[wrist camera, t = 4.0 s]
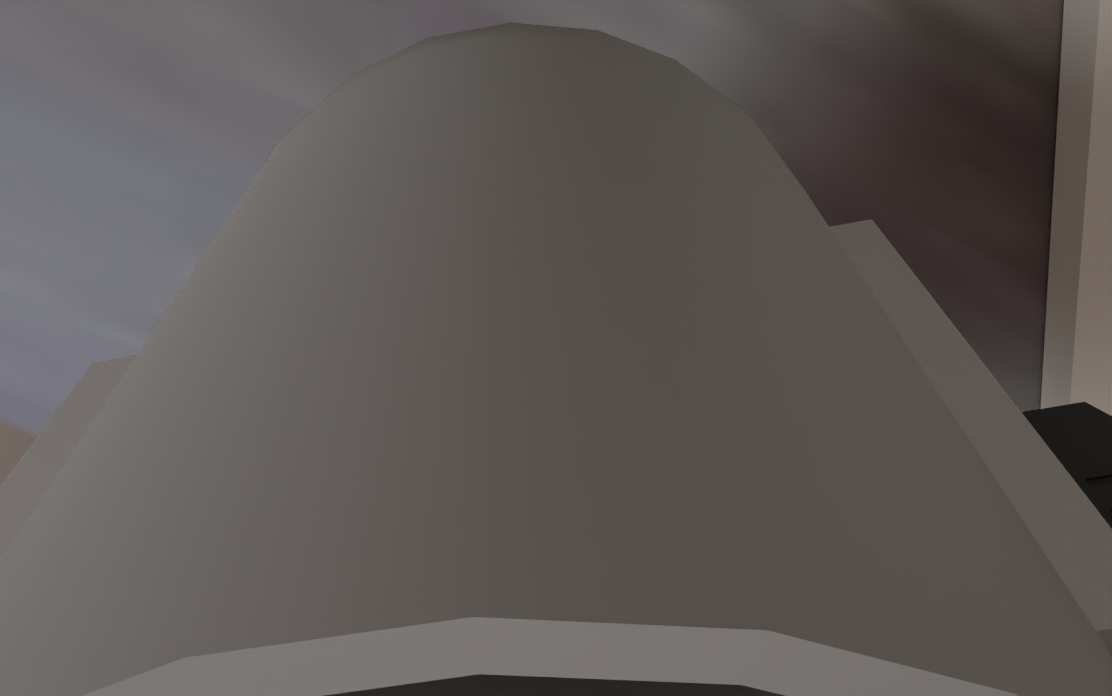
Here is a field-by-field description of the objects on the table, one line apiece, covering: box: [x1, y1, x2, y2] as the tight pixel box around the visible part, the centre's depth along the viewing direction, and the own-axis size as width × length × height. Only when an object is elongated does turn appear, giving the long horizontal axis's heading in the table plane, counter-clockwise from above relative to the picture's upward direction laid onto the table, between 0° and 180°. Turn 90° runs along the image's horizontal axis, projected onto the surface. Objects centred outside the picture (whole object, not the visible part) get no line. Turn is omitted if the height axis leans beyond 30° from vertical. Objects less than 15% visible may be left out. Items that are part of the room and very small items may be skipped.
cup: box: [0, 23, 1112, 696], centre depth 9 cm, size 7×10×9 cm
